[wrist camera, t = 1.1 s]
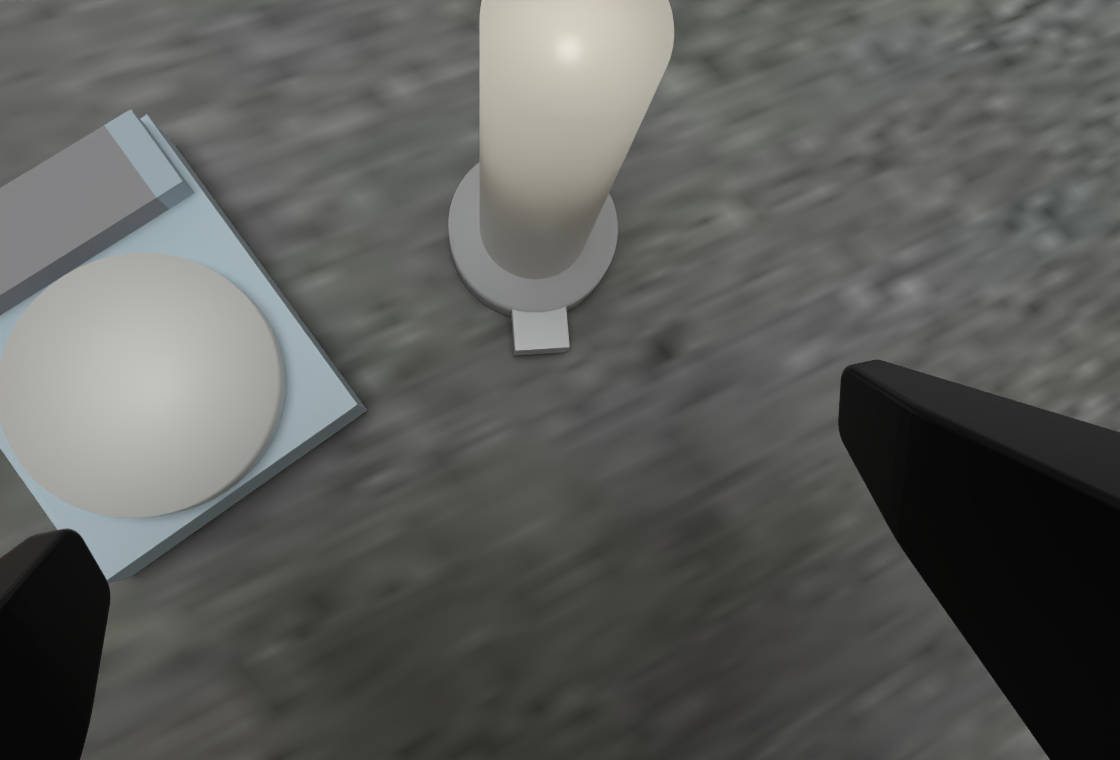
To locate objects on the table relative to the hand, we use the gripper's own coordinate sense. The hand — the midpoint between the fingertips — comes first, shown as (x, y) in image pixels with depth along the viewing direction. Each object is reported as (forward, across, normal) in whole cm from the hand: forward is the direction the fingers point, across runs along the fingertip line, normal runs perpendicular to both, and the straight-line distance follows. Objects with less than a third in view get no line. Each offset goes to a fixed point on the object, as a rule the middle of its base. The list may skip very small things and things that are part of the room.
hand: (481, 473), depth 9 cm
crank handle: (+16, -2, +3) cm, 16 cm away
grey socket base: (+15, +9, +4) cm, 18 cm away
